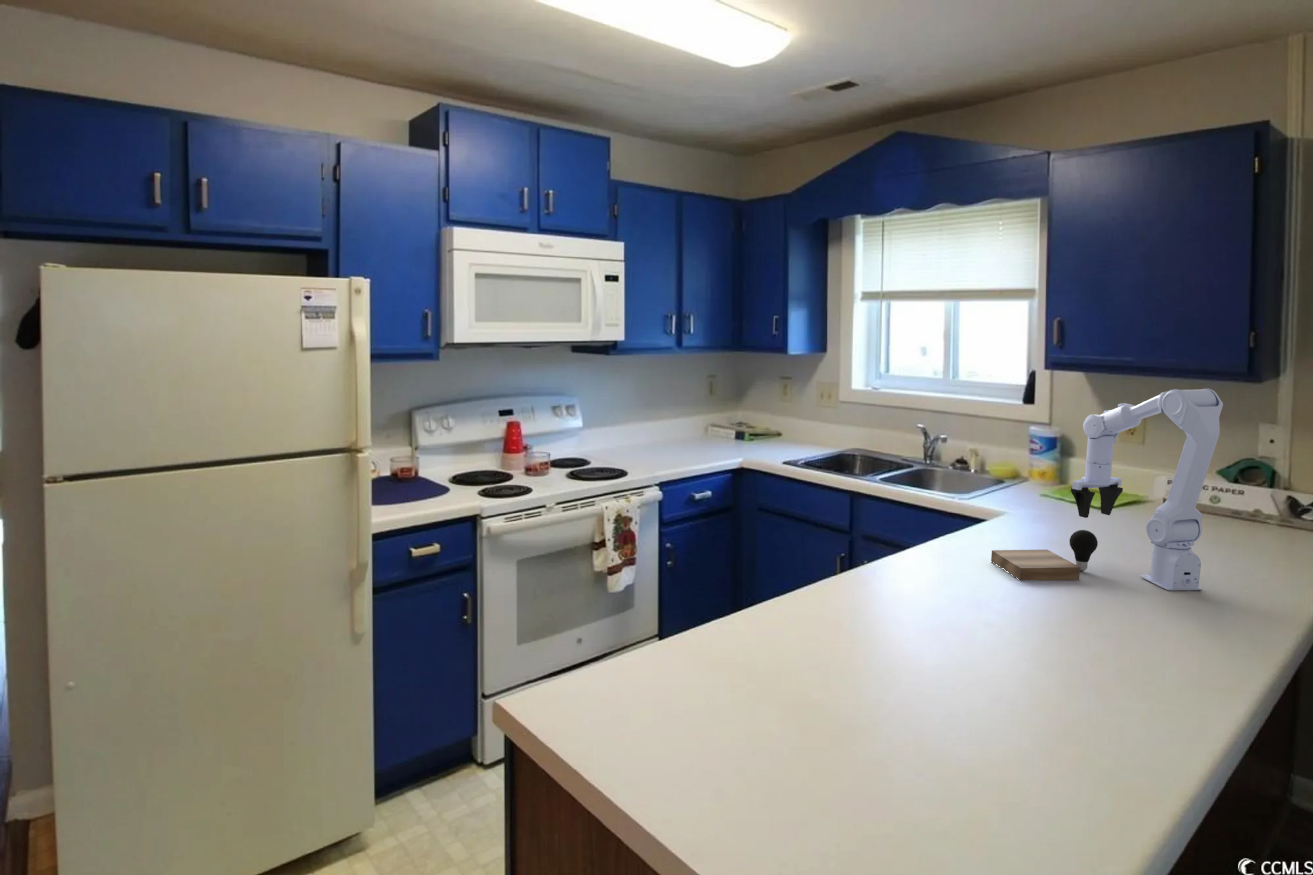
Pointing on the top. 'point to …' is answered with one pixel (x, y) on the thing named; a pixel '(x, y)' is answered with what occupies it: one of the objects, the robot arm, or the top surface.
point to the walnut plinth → (1035, 565)
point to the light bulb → (1083, 547)
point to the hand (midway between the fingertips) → (1094, 515)
